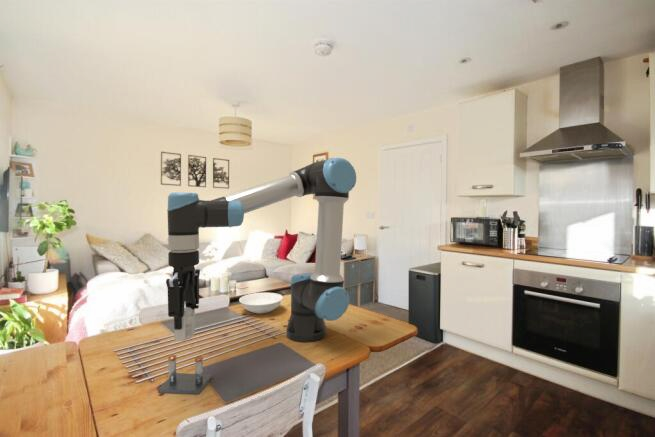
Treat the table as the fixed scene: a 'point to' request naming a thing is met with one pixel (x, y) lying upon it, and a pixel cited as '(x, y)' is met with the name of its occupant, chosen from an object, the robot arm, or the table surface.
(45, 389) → the table surface
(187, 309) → the pill bottle
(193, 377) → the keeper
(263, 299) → the bowl
